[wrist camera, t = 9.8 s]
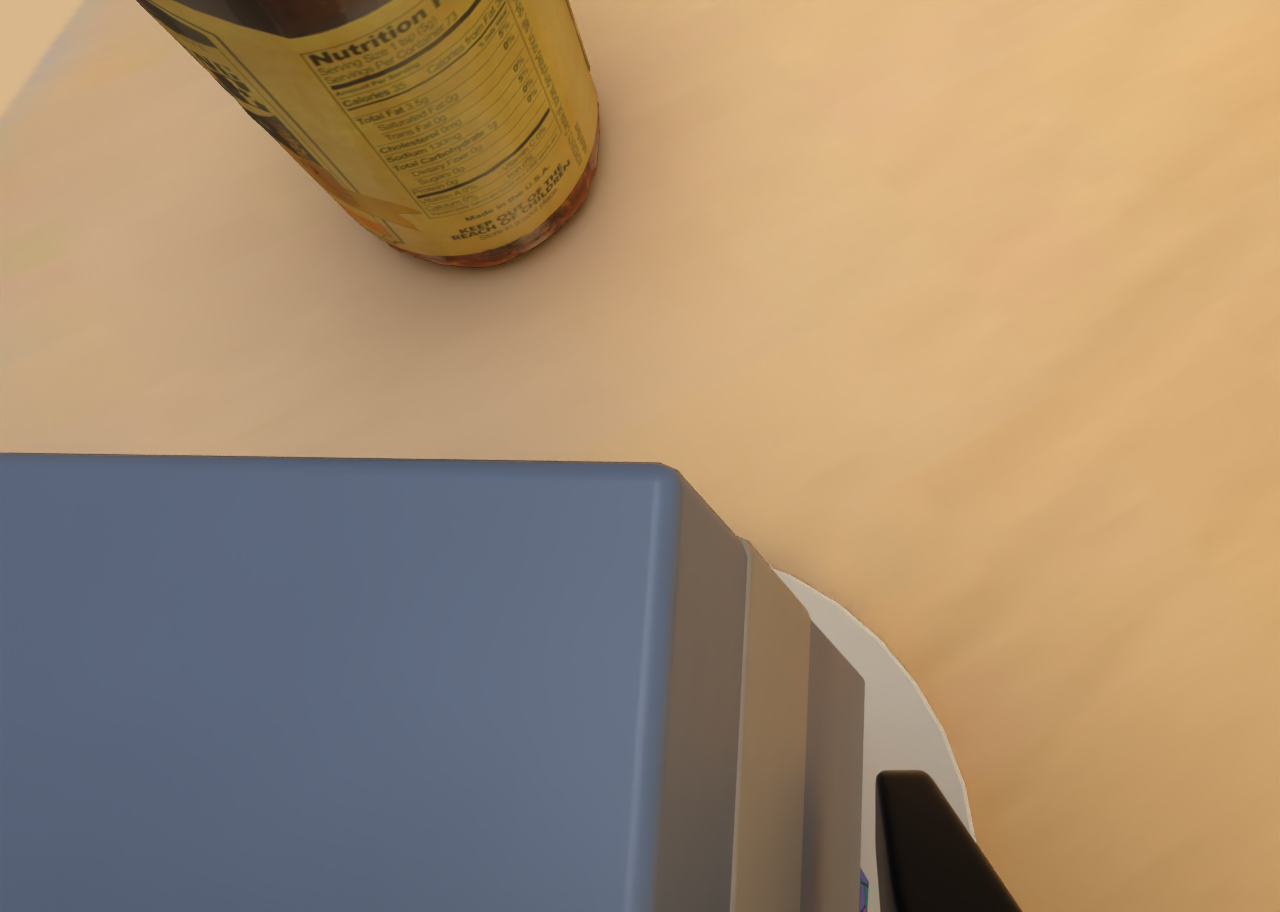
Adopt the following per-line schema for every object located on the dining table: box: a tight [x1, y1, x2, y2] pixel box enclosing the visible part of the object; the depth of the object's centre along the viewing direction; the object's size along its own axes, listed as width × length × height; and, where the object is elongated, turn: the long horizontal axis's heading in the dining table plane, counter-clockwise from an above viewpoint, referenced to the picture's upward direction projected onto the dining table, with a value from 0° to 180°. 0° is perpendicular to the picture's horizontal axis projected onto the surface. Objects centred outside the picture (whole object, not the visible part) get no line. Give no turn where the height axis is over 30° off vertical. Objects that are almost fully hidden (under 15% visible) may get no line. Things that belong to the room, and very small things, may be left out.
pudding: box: [772, 568, 977, 912], centre depth 20 cm, size 12×12×5 cm
